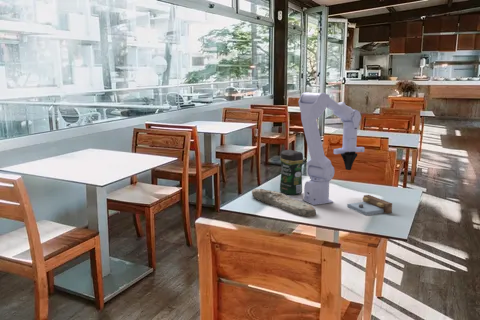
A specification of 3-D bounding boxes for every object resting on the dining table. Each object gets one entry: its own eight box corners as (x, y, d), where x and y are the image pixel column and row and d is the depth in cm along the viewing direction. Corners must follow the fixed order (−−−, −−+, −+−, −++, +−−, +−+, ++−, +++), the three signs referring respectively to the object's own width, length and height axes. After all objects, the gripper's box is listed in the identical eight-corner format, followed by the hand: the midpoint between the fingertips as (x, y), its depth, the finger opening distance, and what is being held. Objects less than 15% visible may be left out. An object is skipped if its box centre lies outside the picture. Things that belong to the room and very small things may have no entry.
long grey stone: (302, 223, 153) (322, 219, 159) (303, 209, 152) (323, 205, 158) (244, 196, 181) (263, 193, 187) (245, 183, 180) (264, 181, 186)
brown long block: (383, 213, 159) (383, 204, 158) (360, 204, 170) (360, 195, 170) (391, 212, 160) (392, 203, 160) (368, 203, 172) (368, 194, 171)
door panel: (365, 216, 157) (366, 209, 157) (347, 208, 167) (347, 201, 167) (383, 214, 160) (383, 206, 160) (364, 206, 170) (364, 199, 170)
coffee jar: (276, 191, 189) (277, 149, 186) (290, 188, 194) (291, 147, 190) (291, 196, 181) (292, 152, 178) (305, 193, 186) (306, 151, 182)
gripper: (341, 140, 176) (339, 173, 178) (370, 138, 181) (368, 169, 184) (331, 138, 182) (329, 169, 185) (359, 136, 188) (357, 166, 190)
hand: (348, 169), depth 185 cm, fingers closed
